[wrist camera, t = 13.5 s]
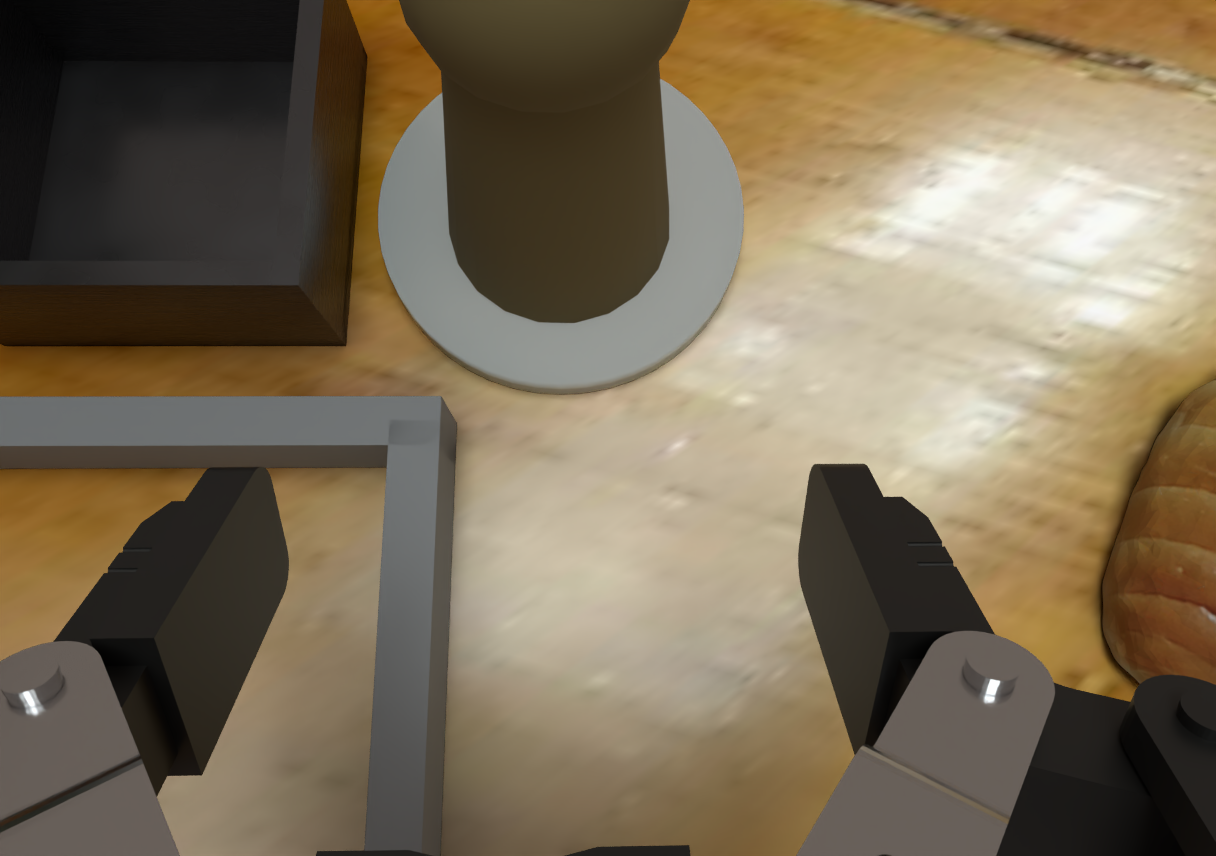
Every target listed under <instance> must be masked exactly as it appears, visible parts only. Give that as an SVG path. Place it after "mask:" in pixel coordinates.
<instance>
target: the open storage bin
mask: <svg viewBox="0 0 1216 856" xmlns="http://www.w3.org/2000/svg"><path fill="white" fill-rule="evenodd" d="M366 65H367V55H366V52H365V49H364V47H363V44H362V41H361V39H360V36H359V33H358V30H357V28H356V25H355V22H354V20H353V17H352V14H351V12H350V9H349V6H348V4H347V1H346V0H0V344H2V345H4V346H346V338H347V324H348V310H349V297H350V283H351V269H352V256H353V242H354V228H355V215H356V201H357V188H358V174H359V160H360V147H361V133H362V119H363V106H364V92H365V78H366Z"/></svg>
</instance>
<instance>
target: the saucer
mask: <svg viewBox="0 0 1216 856" xmlns="http://www.w3.org/2000/svg"><path fill="white" fill-rule="evenodd" d="M660 86H661V100H662V114H663V128H664V142H665V156H666V169H667V183H668V197H669V241H668V244H667V247H666V250H665V252H664V255H663V258H662V261H661V264H660V266H659V269H658V270H657V272H656V273H655V274H654V275H653V277H652V278H651V279H650V280H649V282H648V283H647V284H646V285H645V286H644V288H643V289H642V290H641V291H640V293H639V294H638V295H637V296H635V297H634V298H632V299H631V300H629V301H627V302H626V303H624V304H623V305H621V306H620V307H618V308H617V309H615V310H614V311H612V312H610V313H609V314H605V315H602V316H598V317H595V318H591V319H587V320H584V321H580V322H577V323H549V322H536V321H533V320H530V319H527V318H524V317H521V316H518V315H515V314H512V313H509V312H506V311H504V310H503V309H501V308H500V307H499V306H497V305H496V304H494V303H493V302H492V301H490V300H489V299H488V298H486V297H485V296H483V295H482V294H481V293H479V292H478V291H477V290H476V289H475V287H474V286H473V285H472V283H471V282H470V280H469V279H468V278H467V276H466V275H465V273H464V272H463V271H462V269H461V268H460V266H459V265H458V263H457V259H456V256H455V252H454V249H453V245H452V242H451V238H450V235H449V223H448V202H447V181H446V160H445V139H444V118H443V97H442V93H441V94H440V95H438V96H437V97H436V98H435V99H434V100H433V101H432V102H431V103H430V104H428V105H427V106H426V107H425V108H424V109H423V110H422V111H421V112H420V113H419V115H418V116H417V117H416V118H415V120H414V121H413V122H412V123H411V124H410V126H409V127H408V128H407V130H406V131H405V133H404V135H403V136H402V138H401V139H400V141H399V143H398V144H397V146H396V148H395V150H394V152H393V154H392V157H391V159H390V161H389V163H388V166H387V169H386V172H385V176H384V179H383V183H382V186H381V192H380V199H379V207H378V231H379V237H380V244H381V250H382V254H383V258H384V261H385V264H386V267H387V271H388V274H389V276H390V278H391V280H392V282H393V284H394V286H395V288H396V290H397V293H398V295H399V296H400V298H401V300H402V302H403V304H404V306H405V308H406V309H407V311H408V312H409V314H410V315H411V317H412V318H413V320H414V321H415V323H416V324H417V326H418V327H419V328H420V329H421V331H422V332H423V333H424V334H425V335H426V336H427V337H428V338H429V340H430V341H431V342H432V343H433V344H434V345H435V346H437V347H438V348H439V349H440V350H441V351H442V352H444V353H445V354H446V355H447V356H448V357H449V358H451V359H452V360H454V361H455V362H457V363H458V364H460V365H461V366H463V367H465V368H466V369H468V370H469V371H471V372H473V373H475V374H477V375H479V376H482V377H484V378H486V379H488V380H490V381H493V382H496V383H499V384H502V385H505V386H508V387H511V388H514V389H519V390H525V391H530V392H535V393H547V394H576V393H588V392H593V391H598V390H604V389H609V388H612V387H615V386H618V385H621V384H624V383H628V382H631V381H633V380H635V379H637V378H640V377H642V376H644V375H646V374H648V373H650V372H652V371H654V370H656V369H657V368H659V367H660V366H662V365H663V364H665V363H667V362H668V361H670V360H671V359H673V358H674V357H675V356H676V355H678V354H679V353H680V352H681V351H682V350H683V349H685V348H686V347H687V346H688V345H689V344H690V343H691V342H692V341H693V340H694V339H695V338H696V337H697V336H698V335H699V333H700V332H701V331H702V330H703V329H704V328H705V327H706V325H707V324H708V322H709V321H710V319H711V318H712V316H713V315H714V313H715V312H716V310H717V309H718V307H719V305H720V303H721V301H722V299H723V297H724V295H725V293H726V291H727V288H728V286H729V283H730V280H731V278H732V275H733V272H734V269H735V266H736V263H737V260H738V256H739V253H740V248H741V242H742V236H743V223H744V207H743V199H742V191H741V186H740V182H739V179H738V175H737V171H736V167H735V165H734V163H733V160H732V158H731V156H730V153H729V151H728V149H727V147H726V145H725V144H724V142H723V140H722V139H721V137H720V135H719V134H718V132H717V130H716V129H715V128H714V126H713V125H712V124H711V122H710V121H709V120H708V119H707V117H706V116H705V115H704V114H703V112H702V111H700V110H699V109H698V108H697V107H696V106H695V105H694V104H693V103H692V102H691V101H690V100H689V99H688V98H687V97H686V96H684V95H683V94H682V93H680V92H679V91H678V90H676V89H675V88H674V87H672V86H671V85H670V84H668V83H667V82H665V81H663V80H661V79H660Z"/></svg>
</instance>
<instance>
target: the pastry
mask: <svg viewBox="0 0 1216 856" xmlns="http://www.w3.org/2000/svg"><path fill="white" fill-rule="evenodd" d="M1102 592H1103V632H1104V636H1105V638H1106V641H1107V643H1108V645H1109V647H1110V650H1111V652H1112V654H1113V657H1114V658H1115V660H1116V661H1117V662H1118V663H1119V664H1120V665H1121V666H1122V667H1123V668H1124V669H1125V670H1126V671H1127V672H1128V673H1130V674H1131V675H1132V676H1133V677H1134V678H1135V679H1136V680H1137V681H1138V682H1139V683H1140V684H1141V683H1142V682H1143V681H1145V680H1146V679H1149V678H1151V677H1154V676H1159V675H1182V676H1188V677H1193V678H1197V679H1200V680H1204V681H1207V682H1210V683H1212V684H1215V685H1216V379H1215V380H1213V381H1211V382H1209V383H1207V384H1205V385H1203V386H1201V387H1199V388H1198V389H1196V390H1194V391H1193V392H1192V393H1191V394H1190V395H1189V396H1188V397H1187V398H1186V399H1185V400H1184V401H1183V402H1182V403H1181V405H1180V406H1179V408H1178V409H1177V411H1176V412H1175V414H1174V415H1173V416H1172V418H1171V419H1170V420H1169V422H1168V423H1167V425H1166V426H1165V427H1164V429H1163V430H1162V431H1161V433H1160V434H1159V435H1158V436H1157V438H1156V440H1155V443H1154V445H1153V448H1152V450H1151V453H1150V456H1149V458H1148V461H1147V463H1146V464H1145V466H1144V467H1143V469H1142V471H1141V473H1140V477H1139V480H1138V482H1137V484H1136V486H1135V488H1134V490H1133V492H1132V494H1131V497H1130V500H1129V503H1128V508H1127V511H1126V513H1125V516H1124V519H1123V522H1122V525H1121V528H1120V531H1119V534H1118V536H1117V538H1116V541H1115V544H1114V547H1113V550H1112V553H1111V556H1110V559H1109V563H1108V567H1107V570H1106V573H1105V576H1104V579H1103V583H1102Z"/></svg>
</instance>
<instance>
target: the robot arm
mask: <svg viewBox="0 0 1216 856" xmlns="http://www.w3.org/2000/svg"><path fill="white" fill-rule="evenodd" d="M798 566H799V577H800V583H801V588H802V592H803V595H804V598H805V601H806V604H807V607H808V610H809V613H810V616H811V620H812V623H813V626H814V629H815V632H816V635H817V638H818V641H819V645H820V648H821V651H822V654H823V657H824V660H825V663H826V666H827V670H828V673H829V676H830V679H831V682H832V685H833V688H834V691H835V695H836V698H837V701H838V704H839V707H840V710H841V713H842V716H843V719H844V723H845V726H846V729H847V732H848V735H849V738H850V741H851V744H852V748H853V751H854V754H855V756H854V758H853V760H852V761H851V763H850V765H849V766H848V768H847V770H846V772H845V773H844V775H843V777H842V778H841V780H840V782H839V784H838V785H837V787H836V789H835V790H834V792H833V794H832V796H831V797H830V799H829V801H828V802H827V804H826V806H825V808H824V809H823V811H822V813H821V814H820V816H819V818H818V820H817V821H816V823H815V825H814V826H813V828H812V830H811V831H810V833H809V835H808V837H807V838H806V840H805V842H804V843H803V845H802V847H801V849H800V850H799V852H798V854H797V855H796V856H1216V685H1215V684H1212V683H1210V682H1207V681H1204V680H1200V679H1197V678H1193V677H1188V676H1182V675H1159V676H1154V677H1151V678H1149V679H1146V680H1145V681H1143V682H1142V683H1141V684H1140V685H1139V686H1138V688H1137V689H1136V691H1135V693H1134V695H1133V698H1132V700H1131V702H1128V701H1124V700H1119V699H1115V698H1111V697H1106V696H1102V695H1097V694H1093V693H1089V692H1084V691H1080V690H1076V689H1072V688H1068V687H1065V686H1062V685H1059V684H1056V683H1054V682H1053V680H1052V677H1051V675H1050V674H1049V672H1048V670H1047V669H1046V668H1045V666H1044V665H1043V664H1042V662H1040V661H1039V660H1038V659H1037V658H1036V657H1035V656H1034V655H1033V654H1032V653H1030V652H1029V651H1028V650H1026V649H1025V648H1023V647H1021V646H1020V645H1018V644H1016V643H1014V642H1012V641H1010V640H1008V639H1006V638H1003V637H1000V636H997V635H995V634H994V632H993V630H992V629H991V627H990V625H989V623H988V622H987V620H986V618H985V616H984V615H983V613H982V611H981V609H980V608H979V606H978V604H977V602H976V601H975V599H974V597H973V595H972V594H971V592H970V590H969V588H968V586H967V585H966V583H965V581H964V579H963V578H962V576H961V574H960V572H959V571H958V569H957V567H954V566H953V560H952V558H951V557H950V555H949V553H948V551H947V550H946V548H945V547H942V541H941V539H940V537H939V536H938V534H937V532H936V530H935V529H934V527H933V525H932V523H931V522H930V520H929V518H928V517H927V516H926V515H924V514H923V513H922V512H921V511H919V510H918V509H917V508H916V507H914V506H913V505H912V504H911V503H909V502H908V501H907V500H906V499H904V498H903V497H883V495H882V493H881V491H880V489H879V487H878V485H877V483H876V481H875V479H874V477H873V476H872V474H871V472H870V470H869V468H868V466H867V465H865V464H814V465H813V467H812V469H811V471H810V475H809V481H808V488H807V495H806V502H805V508H804V515H803V522H802V529H801V536H800V543H799V553H798ZM288 571H289V558H288V550H287V545H286V541H285V537H284V532H283V528H282V524H281V519H280V515H279V510H278V506H277V502H276V497H275V493H274V489H273V484H272V480H271V477H270V475H269V473H268V471H267V470H266V469H265V468H264V467H211V468H209V469H207V470H206V471H205V473H204V474H203V475H202V477H201V478H200V480H199V481H198V483H197V484H196V486H195V487H194V488H193V490H192V491H191V493H190V494H189V496H188V497H187V499H186V500H185V501H172V502H170V503H169V504H167V505H166V506H165V507H163V508H162V509H160V510H159V511H158V512H156V513H155V514H153V515H152V516H150V517H149V518H148V519H146V520H145V521H143V522H142V523H141V524H140V525H139V527H138V528H137V529H136V531H135V532H134V534H133V535H132V536H131V538H130V539H129V540H128V542H127V543H126V544H125V546H124V547H123V553H119V554H118V555H117V556H116V558H115V559H114V561H113V562H112V563H111V565H110V566H109V567H108V573H104V574H103V575H102V577H101V578H100V579H99V581H98V582H97V584H96V585H95V586H94V588H93V589H92V590H91V592H90V593H89V594H88V596H87V597H86V598H85V600H84V601H83V602H82V604H81V605H80V606H79V608H78V609H77V611H76V612H75V613H74V615H73V616H72V617H71V619H70V620H69V621H68V623H67V624H66V625H65V627H64V628H63V629H62V631H61V632H60V633H59V635H58V636H57V638H56V639H55V640H54V642H51V643H45V644H41V645H37V646H34V647H31V648H28V649H25V650H22V651H20V652H18V653H16V654H13V655H11V656H9V657H8V658H6V659H4V660H2V661H0V856H180V855H179V852H178V850H177V847H176V845H175V842H174V840H173V837H172V835H171V832H170V830H169V827H168V825H167V822H166V820H165V817H164V814H163V812H162V809H161V807H160V804H159V802H158V799H157V795H158V793H159V791H160V789H161V787H162V785H163V783H164V781H165V779H166V777H167V776H188V775H202V774H203V772H204V770H205V767H206V765H207V763H208V761H209V759H210V756H211V754H212V752H213V750H214V748H215V745H216V743H217V741H218V739H219V736H220V734H221V732H222V730H223V728H224V725H225V723H226V721H227V719H228V716H229V714H230V712H231V710H232V708H233V705H234V703H235V701H236V699H237V697H238V694H239V692H240V690H241V688H242V685H243V683H244V681H245V679H246V677H247V674H248V672H249V670H250V668H251V665H252V663H253V661H254V659H255V657H256V654H257V652H258V650H259V648H260V645H261V643H262V641H263V639H264V637H265V634H266V632H267V630H268V628H269V626H270V623H271V621H272V619H273V617H274V614H275V612H276V610H277V608H278V606H279V603H280V601H281V599H282V597H283V594H284V592H285V589H286V585H287V580H288ZM316 856H432V855H428V854H424V853H420V852H416V851H412V850H373V851H317V854H316ZM566 856H690V849H689V845H682V846H620V847H596V848H592V849H588V850H585V851H581V852H577V853H573V854H569V855H566Z"/></svg>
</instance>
